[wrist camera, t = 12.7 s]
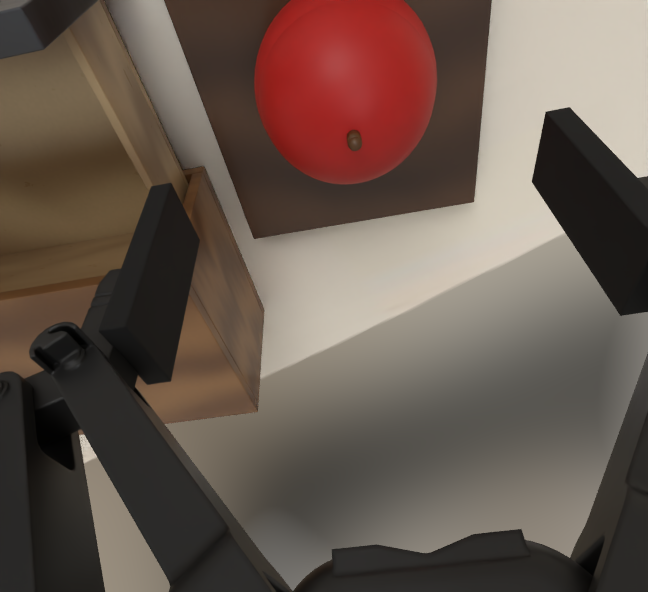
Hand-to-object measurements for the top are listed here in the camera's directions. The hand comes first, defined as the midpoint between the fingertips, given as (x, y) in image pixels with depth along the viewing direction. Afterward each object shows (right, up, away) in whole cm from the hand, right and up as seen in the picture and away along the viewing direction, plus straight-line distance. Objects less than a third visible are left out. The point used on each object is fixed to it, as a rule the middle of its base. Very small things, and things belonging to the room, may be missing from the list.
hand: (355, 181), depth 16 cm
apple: (0, +10, +9) cm, 13 cm away
